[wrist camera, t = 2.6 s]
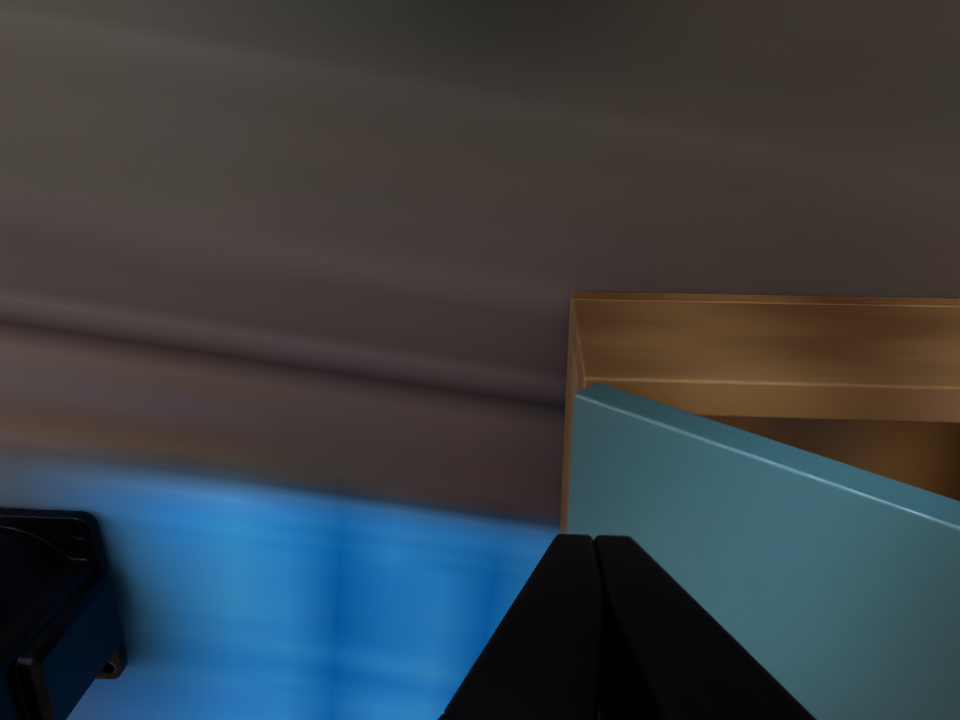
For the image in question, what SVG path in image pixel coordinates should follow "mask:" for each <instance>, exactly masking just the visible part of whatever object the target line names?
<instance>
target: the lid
mask: <svg viewBox="0 0 960 720" xmlns="http://www.w3.org/2000/svg"><path fill="white" fill-rule="evenodd" d="M567 534H588V535H590V536H592V538H593V539H595V537H596V536H598V535H627V536H630V537H632V538H633V539H634V540H635V541H636V542H637V543H638V544H639V545H640V546H641V547H642V548H643V549H644V550H645V551H646V552H647V553H648V554H649V555H650V556H651V557H652V558H653V559H655V560H656V561H657V562H658V563H659V564H660V565H661V566H662V567H663V568H664V569H665V570H666V571H667V572H668V573H669V574H670V575H671V576H672V577H673V578H674V579H675V580H676V581H677V582H678V583H679V584H680V585H681V586H682V587H683V588H684V589H685V590H686V591H687V592H688V593H689V594H690V595H691V596H692V597H693V598H694V599H695V600H696V601H697V602H698V603H699V604H700V605H701V606H702V607H703V608H704V609H705V610H706V611H707V612H708V613H709V614H710V615H711V616H712V617H713V618H714V619H715V620H716V621H717V622H718V623H719V624H720V625H722V626H723V627H724V628H725V629H726V630H727V631H728V632H729V633H730V634H731V635H732V636H733V637H734V638H735V639H736V640H737V641H738V642H739V643H740V644H741V645H742V646H743V647H744V648H745V649H746V650H747V651H748V652H749V653H750V654H751V655H752V656H753V657H754V658H755V659H756V660H757V661H758V662H759V663H760V664H761V665H762V666H763V667H764V668H765V669H766V670H767V671H768V672H769V673H770V674H771V675H772V676H773V677H774V678H775V679H776V680H777V681H778V682H779V683H780V684H781V685H782V686H783V687H784V688H785V689H786V690H788V691H789V692H790V693H791V694H792V695H793V696H794V697H795V698H796V699H797V700H798V701H799V702H800V703H801V704H802V705H803V706H804V707H805V708H806V709H807V710H808V711H809V712H810V713H811V714H812V715H813V716H814V717H815V718H816V719H817V720H960V501H957V500H954V499H951V498H948V497H945V496H942V495H939V494H936V493H933V492H930V491H926V490H923V489H920V488H917V487H914V486H911V485H908V484H905V483H902V482H899V481H896V480H893V479H890V478H887V477H884V476H881V475H878V474H875V473H872V472H869V471H866V470H863V469H860V468H857V467H854V466H851V465H848V464H844V463H841V462H838V461H835V460H832V459H829V458H826V457H823V456H820V455H817V454H814V453H811V452H808V451H805V450H802V449H799V448H796V447H793V446H790V445H787V444H784V443H781V442H778V441H775V440H772V439H769V438H766V437H762V436H759V435H756V434H753V433H750V432H747V431H744V430H741V429H738V428H735V427H732V426H729V425H726V424H723V423H720V422H717V421H714V420H711V419H708V418H705V417H702V416H699V415H696V414H693V413H690V412H687V411H684V410H680V409H677V408H674V407H671V406H668V405H665V404H662V403H659V402H656V401H653V400H650V399H647V398H644V397H641V396H638V395H635V394H632V393H629V392H626V391H623V390H620V389H617V388H614V387H611V386H608V385H605V384H602V383H595V384H593V385H591V386H589V387H587V388H584V389H582V390H580V391H578V392H576V393H575V394H574V404H573V424H572V445H571V465H570V486H569V506H568V527H567Z"/></svg>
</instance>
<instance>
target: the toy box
mask: <svg viewBox="0 0 960 720" xmlns="http://www.w3.org/2000/svg"><path fill="white" fill-rule="evenodd" d="M595 383H602V384H605V385H608V386H611V387H614V388H617V389H620V390H623V391H626V392H629V393H632V394H635V395H638V396H641V397H644V398H647V399H650V400H653V401H656V402H659V403H662V404H665V405H668V406H671V407H674V408H677V409H680V410H684V411H687V412H690V413H693V414H696V415H699V416H702V417H705V418H708V419H711V420H714V421H717V422H720V423H723V424H726V425H729V426H732V427H735V428H738V429H741V430H744V431H747V432H750V433H753V434H756V435H759V436H762V437H766V438H769V439H772V440H775V441H778V442H781V443H784V444H787V445H790V446H793V447H796V448H799V449H802V450H805V451H808V452H811V453H814V454H817V455H820V456H823V457H826V458H829V459H832V460H835V461H838V462H841V463H844V464H848V465H851V466H854V467H857V468H860V469H863V470H866V471H869V472H872V473H875V474H878V475H881V476H884V477H887V478H890V479H893V480H896V481H899V482H902V483H905V484H908V485H911V486H914V487H917V488H920V489H923V490H926V491H930V492H933V493H936V494H939V495H942V496H945V497H948V498H951V499H954V500H957V501H960V298H907V297H852V296H798V295H744V294H690V293H636V292H582V291H572V292H571V293H570V310H569V332H568V355H567V377H566V400H565V422H564V445H563V467H562V490H561V512H560V534H567V527H568V506H569V486H570V465H571V445H572V424H573V404H574V394H575V393H576V392H578V391H580V390H582V389H584V388H587V387H589V386H591V385H593V384H595Z"/></svg>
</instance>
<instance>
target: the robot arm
mask: <svg viewBox="0 0 960 720" xmlns="http://www.w3.org/2000/svg"><path fill="white" fill-rule="evenodd" d="M77 525H78V526H80V527H82V528H83V529H84V531H82V530H80V529H79V528H78V527H77ZM123 638H124V632H123V627H122V623H121V618H120V613H119V608H118V604H117V599H116V594H115V590H114V585H113V580H112V578H111V577H110V575H109V570H108V566H107V561H106V556H105V552H104V547H103V542H102V537H101V533H100V528H99V524H98V522H97V520H96V519H95V518H94V517H93V516H92V515H90V514H89V513H87V512H82V511H59V510H33V509H6V508H0V720H66V719H67V717H68V716H69V714H70V713H71V712H72V710H73V709H74V707H75V706H76V705H77V703H78V702H79V700H80V699H81V698H82V696H83V695H84V693H85V692H86V691H87V689H88V688H89V686H90V685H91V684H92V682H93V681H94V679H95V678H96V679H116V678H117V677H119V676H120V675H121V673H122V672H123V670H124V669H125V667H126V666H127V663H128V660H127V655H126V650H125V646H124V641H123ZM110 663H111V664H110ZM438 720H817V719H816V718H815V717H814V716H813V715H812V714H811V713H810V712H809V711H808V710H807V709H806V708H805V707H804V706H803V705H802V704H801V703H800V702H799V701H798V700H797V699H796V698H795V697H794V696H793V695H792V694H791V693H790V692H789V691H788V690H786V689H785V688H784V687H783V686H782V685H781V684H780V683H779V682H778V681H777V680H776V679H775V678H774V677H773V676H772V675H771V674H770V673H769V672H768V671H767V670H766V669H765V668H764V667H763V666H762V665H761V664H760V663H759V662H758V661H757V660H756V659H755V658H754V657H753V656H752V655H751V654H750V653H749V652H748V651H747V650H746V649H745V648H744V647H743V646H742V645H741V644H740V643H739V642H738V641H737V640H736V639H735V638H734V637H733V636H732V635H731V634H730V633H729V632H728V631H727V630H726V629H725V628H724V627H723V626H722V625H720V624H719V623H718V622H717V621H716V620H715V619H714V618H713V617H712V616H711V615H710V614H709V613H708V612H707V611H706V610H705V609H704V608H703V607H702V606H701V605H700V604H699V603H698V602H697V601H696V600H695V599H694V598H693V597H692V596H691V595H690V594H689V593H688V592H687V591H686V590H685V589H684V588H683V587H682V586H681V585H680V584H679V583H678V582H677V581H676V580H675V579H674V578H673V577H672V576H671V575H670V574H669V573H668V572H667V571H666V570H665V569H664V568H663V567H662V566H661V565H660V564H659V563H658V562H657V561H656V560H655V559H653V558H652V557H651V556H650V555H649V554H648V553H647V552H646V551H645V550H644V549H643V548H642V547H641V546H640V545H639V544H638V543H637V542H636V541H635V540H634V539H633V538H632V537H630V536H627V535H598V536H596V537H595V539H593V538H592V536H590V535H588V534H558V535H557V536H556V537H555V538H554V540H553V541H552V543H551V544H550V546H549V548H548V549H547V551H546V552H545V554H544V555H543V557H542V558H541V560H540V562H539V563H538V565H537V566H536V568H535V569H534V571H533V572H532V574H531V576H530V577H529V579H528V580H527V582H526V583H525V585H524V587H523V588H522V590H521V591H520V593H519V594H518V596H517V597H516V599H515V601H514V602H513V604H512V605H511V607H510V608H509V610H508V611H507V613H506V615H505V616H504V618H503V619H502V621H501V622H500V624H499V626H498V627H497V629H496V630H495V632H494V633H493V635H492V636H491V638H490V640H489V641H488V643H487V644H486V646H485V647H484V649H483V651H482V652H481V654H480V655H479V657H478V658H477V660H476V661H475V663H474V665H473V666H472V668H471V669H470V671H469V672H468V674H467V675H466V677H465V679H464V680H463V682H462V683H461V685H460V686H459V688H458V689H457V691H456V693H455V694H454V696H453V697H452V699H451V700H450V702H449V704H448V705H447V707H446V708H445V711H444V714H442V715H441V716H440V717H439V718H438Z"/></svg>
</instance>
